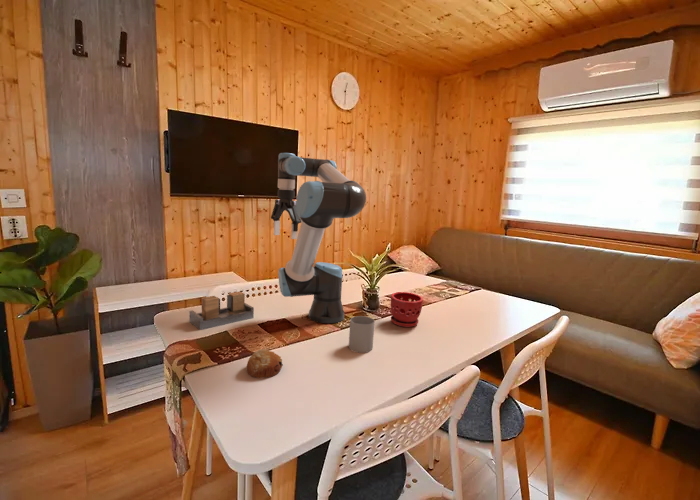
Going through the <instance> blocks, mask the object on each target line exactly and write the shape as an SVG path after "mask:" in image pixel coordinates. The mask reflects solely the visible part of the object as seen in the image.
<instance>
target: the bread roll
mask: <svg viewBox="0 0 700 500" xmlns="http://www.w3.org/2000/svg"><path fill="white" fill-rule="evenodd" d="M283 366H284V365H283V359H282V356H280V355H279V354H277V353H275V352H274V351H271V350H268V349H265V348H264V349H263V348H261V349H258V350H257V351H255V352H253V354H251V356H250V357H249V359H248V361H247V364H246V372H247V375H249V376H250V377H252V378H257V379H262V378H263V379H264V378H271V377H274V376H276V375H278V374H279V373H280V372H281V369H282V367H283Z"/></svg>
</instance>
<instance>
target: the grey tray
mask: <svg viewBox="0 0 700 500" xmlns="http://www.w3.org/2000/svg"><path fill="white" fill-rule="evenodd" d="M245 296H246V295H245V293H244V292H242V291H234V292H229V293H228V294H226V307H222V308H220V314H219V317H217V318H213V319H208V320H204V319H203V317H202V311H201V312H198V313H197V312H196V311H194V310H189V311H188V312H189V315H188V316H189V323H190V324H192V326H194V327H195V328H196V329H198V330H199V331H202V330H206V329H210V328H215V327H220V326H224V325H228V324H233V323H238V322H241V321H246V320H251V319H254V306H252V305H250V304H248V303H246V302H245V298H246V297H245Z"/></svg>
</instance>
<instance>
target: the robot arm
mask: <svg viewBox="0 0 700 500" xmlns="http://www.w3.org/2000/svg"><path fill="white" fill-rule="evenodd" d="M337 167H338V166H337V163H336V161H335V160H330V159H322V158H321V159H320V158H311V157H301V156H298V155H297V156H296V154H295V153H290V152H280V153H279V154H278V159H277V170H278V171H277V188H278V189H277V198H279V199H274V200H275V201H274V205H273V209H272V213H271V216H270V218H271V220H273V235H274V236H280V235H281V232H280V231H281V221H280V218H281V217H282V215H283V212H285V211H286V212H287V213H288V216H289V218H290V220H291V229H290V239H291V240H296V241H295V245H294V248H293V250H292V251H293V252H292V255H291V259H290V260H288V261H287V262H286V264H285V266H284V267H280V268H279V269H278V274H277V275H278V285H279V291H280V293H281V295H282V296H283V297H285V298H287V297H290V298H294V297H302V296H313V298H312V299H313V300H312V303H311V306H310V309H309V311H308V318H309V319H310V320H311V321H313V322H316V323H320V324H335V323H339V322H341V321H344V319H345V311H344V307H343V303H342V288H343V287H342V286H343V277H344V276H343V269H342V267H341V266H340V265H337V264H334V263H330V262H322V261H318V262H315V260H316V257H317V255H318V252H319V248H320V246H321V242H322V239H323V237H324V234H325V232H326V231H325V230H326V229H327V228H330V227H331V226H332V224H333V221H334V219H348V218H353V217H355V216H357V215H358V214H360V213H361V212H362V210H363V209H364V208H365V206H366V202H367V194H366V191H365V189H364V187H363V186H362V185H360V183H358V182H357V181H354V180H350V179H349V178H348V177H346V175H344V174H343V173H342V172H341V171H340V170H338V169H337ZM296 176H297V177H298V176H300V177H312V178H313V177H314V178H318V179H320V181H319V180H313V181H305V182H303V183H302V184H301V185H300V186H299V189H298V191H297V194H296V191H295V189H296ZM295 198H296V200H293V199H295ZM299 224H300V225H299ZM298 227H299V228H298Z"/></svg>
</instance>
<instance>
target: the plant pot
mask: <svg viewBox="0 0 700 500" xmlns="http://www.w3.org/2000/svg"><path fill="white" fill-rule="evenodd" d="M423 301H424V299H423V297H422V296H421V295H418V294H416V293H412V292H408V291H399V292H397V291H396V292H394V293H392V294H391V295H390V311H391V317H390V320H391V322H392V324H394V325H396V326H399V327H405V328H412V327H416V326H417V325H418V324H419V317H420V315H421V312H422V308H423Z"/></svg>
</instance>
